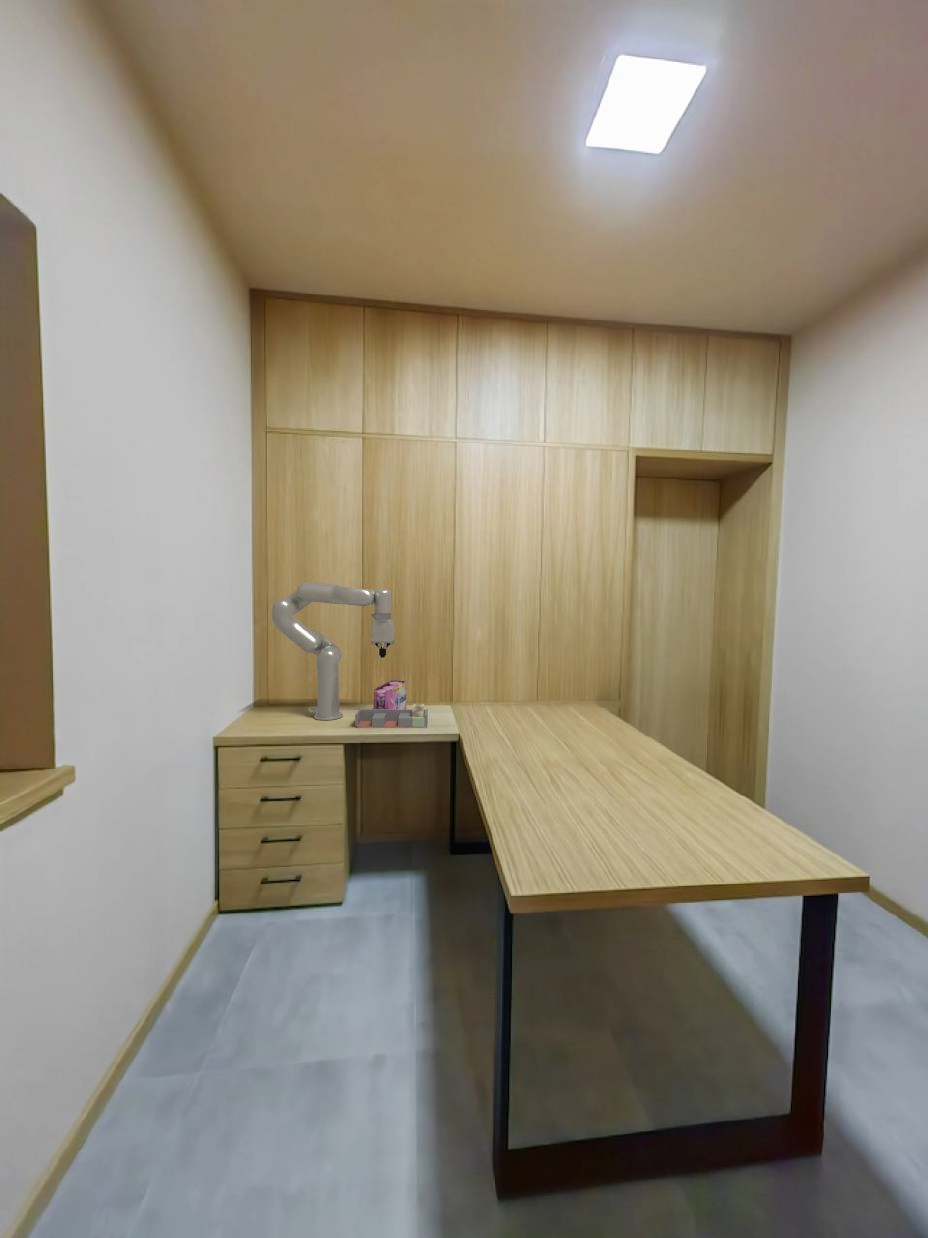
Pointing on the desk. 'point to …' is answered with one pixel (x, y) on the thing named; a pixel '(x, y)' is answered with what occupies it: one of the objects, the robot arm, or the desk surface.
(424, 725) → the track
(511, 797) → the desk surface
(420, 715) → the cream block
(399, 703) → the gum box
